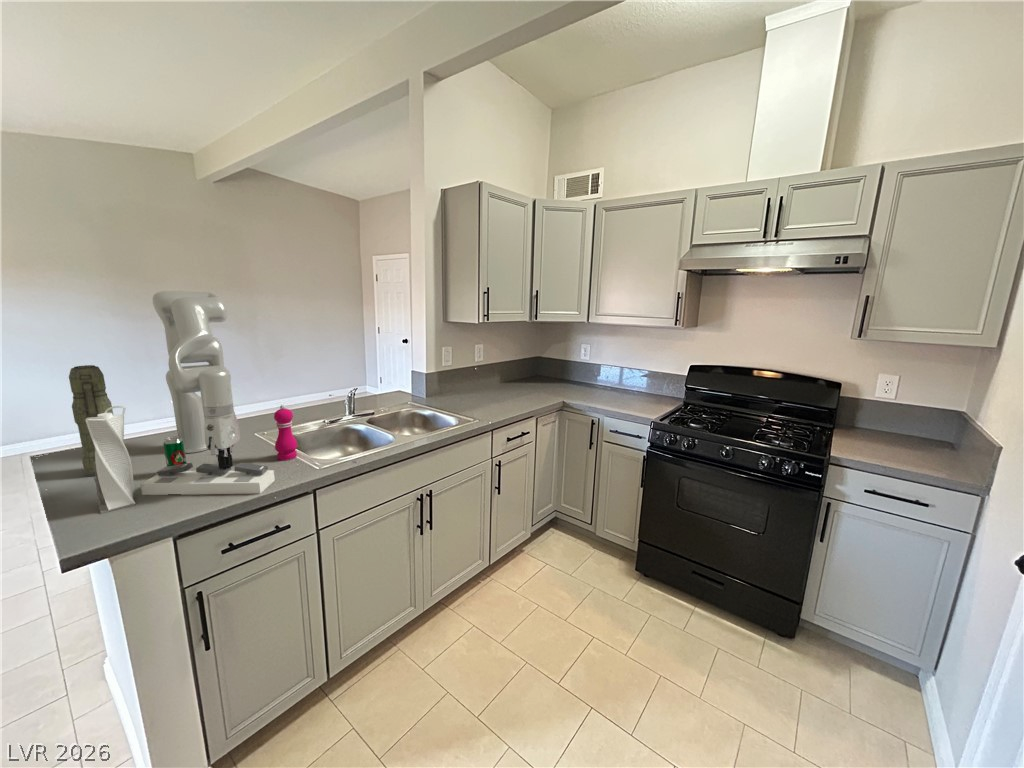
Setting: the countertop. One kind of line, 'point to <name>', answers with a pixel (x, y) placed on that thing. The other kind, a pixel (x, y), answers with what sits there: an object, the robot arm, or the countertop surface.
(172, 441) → the soda can
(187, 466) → the rocker
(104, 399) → the olive piece
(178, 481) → the power strip
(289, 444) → the pepper mill
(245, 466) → the block
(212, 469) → the middle rocker
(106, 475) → the skyscraper
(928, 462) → the countertop surface
